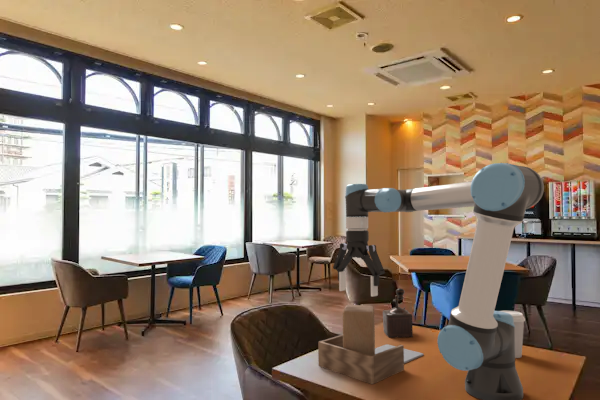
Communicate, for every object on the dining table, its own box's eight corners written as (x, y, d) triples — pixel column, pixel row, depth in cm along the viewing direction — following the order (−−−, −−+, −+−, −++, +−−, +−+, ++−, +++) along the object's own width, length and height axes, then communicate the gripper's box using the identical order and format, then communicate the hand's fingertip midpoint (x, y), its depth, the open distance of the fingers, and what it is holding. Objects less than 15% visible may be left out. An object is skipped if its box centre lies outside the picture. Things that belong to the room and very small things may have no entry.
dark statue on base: (415, 337, 176) (414, 293, 177) (388, 338, 176) (387, 294, 177) (404, 327, 192) (403, 287, 193) (380, 328, 191) (379, 287, 192)
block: (374, 374, 136) (373, 311, 136) (343, 372, 138) (342, 310, 138) (375, 363, 146) (374, 305, 146) (345, 362, 148) (345, 304, 148)
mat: (423, 355, 154) (423, 353, 154) (403, 364, 145) (403, 362, 145) (386, 345, 166) (386, 344, 166) (365, 353, 157) (365, 351, 157)
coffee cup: (500, 358, 149) (498, 315, 150) (494, 350, 159) (493, 309, 159) (529, 360, 147) (528, 316, 148) (522, 351, 157) (521, 310, 157)
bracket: (404, 369, 139) (403, 345, 140) (372, 384, 128) (371, 357, 128) (351, 354, 156) (350, 332, 156) (318, 365, 144) (318, 341, 145)
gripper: (394, 230, 137) (395, 296, 136) (337, 228, 155) (337, 287, 154) (380, 231, 132) (381, 300, 131) (322, 229, 150) (323, 289, 149)
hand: (357, 293), depth 143 cm, fingers open, 13 cm apart
